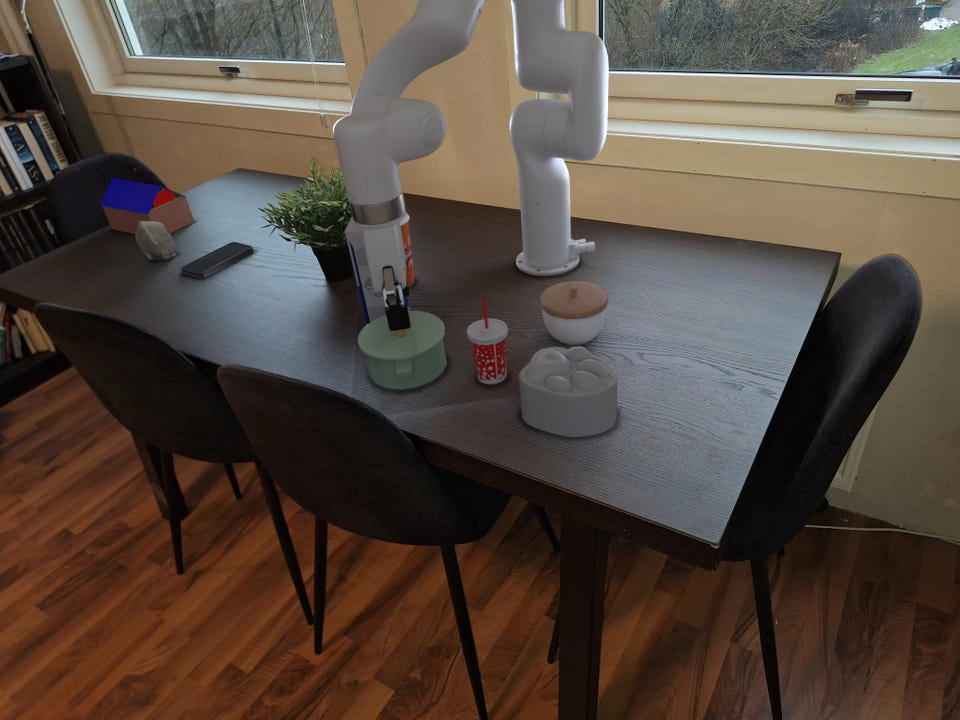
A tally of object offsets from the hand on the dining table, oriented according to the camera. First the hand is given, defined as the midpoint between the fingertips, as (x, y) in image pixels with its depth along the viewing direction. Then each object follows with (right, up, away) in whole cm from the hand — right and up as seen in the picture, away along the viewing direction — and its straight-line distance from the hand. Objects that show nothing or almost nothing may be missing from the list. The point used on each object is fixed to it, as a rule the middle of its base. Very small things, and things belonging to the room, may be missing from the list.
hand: (399, 312), depth 101 cm
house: (-73, +28, +71) cm, 106 cm away
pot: (+1, -9, +6) cm, 10 cm away
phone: (-47, +15, +48) cm, 68 cm away
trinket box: (+28, -4, +8) cm, 30 cm away
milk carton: (-4, -1, +18) cm, 18 cm away
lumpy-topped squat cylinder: (+25, -15, -7) cm, 30 cm away
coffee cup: (-4, +8, +30) cm, 31 cm away
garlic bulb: (-63, +17, +54) cm, 84 cm away
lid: (0, -4, +2) cm, 4 cm away
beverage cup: (+14, -10, +1) cm, 18 cm away
